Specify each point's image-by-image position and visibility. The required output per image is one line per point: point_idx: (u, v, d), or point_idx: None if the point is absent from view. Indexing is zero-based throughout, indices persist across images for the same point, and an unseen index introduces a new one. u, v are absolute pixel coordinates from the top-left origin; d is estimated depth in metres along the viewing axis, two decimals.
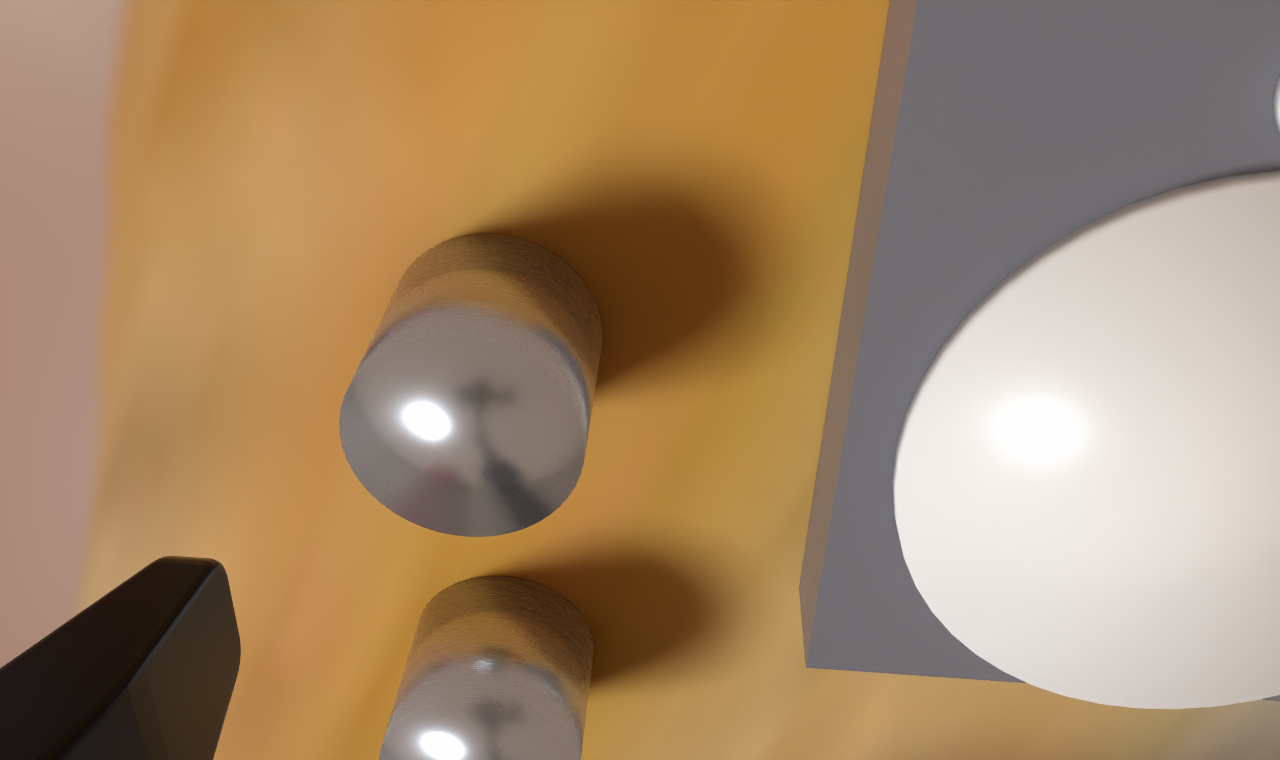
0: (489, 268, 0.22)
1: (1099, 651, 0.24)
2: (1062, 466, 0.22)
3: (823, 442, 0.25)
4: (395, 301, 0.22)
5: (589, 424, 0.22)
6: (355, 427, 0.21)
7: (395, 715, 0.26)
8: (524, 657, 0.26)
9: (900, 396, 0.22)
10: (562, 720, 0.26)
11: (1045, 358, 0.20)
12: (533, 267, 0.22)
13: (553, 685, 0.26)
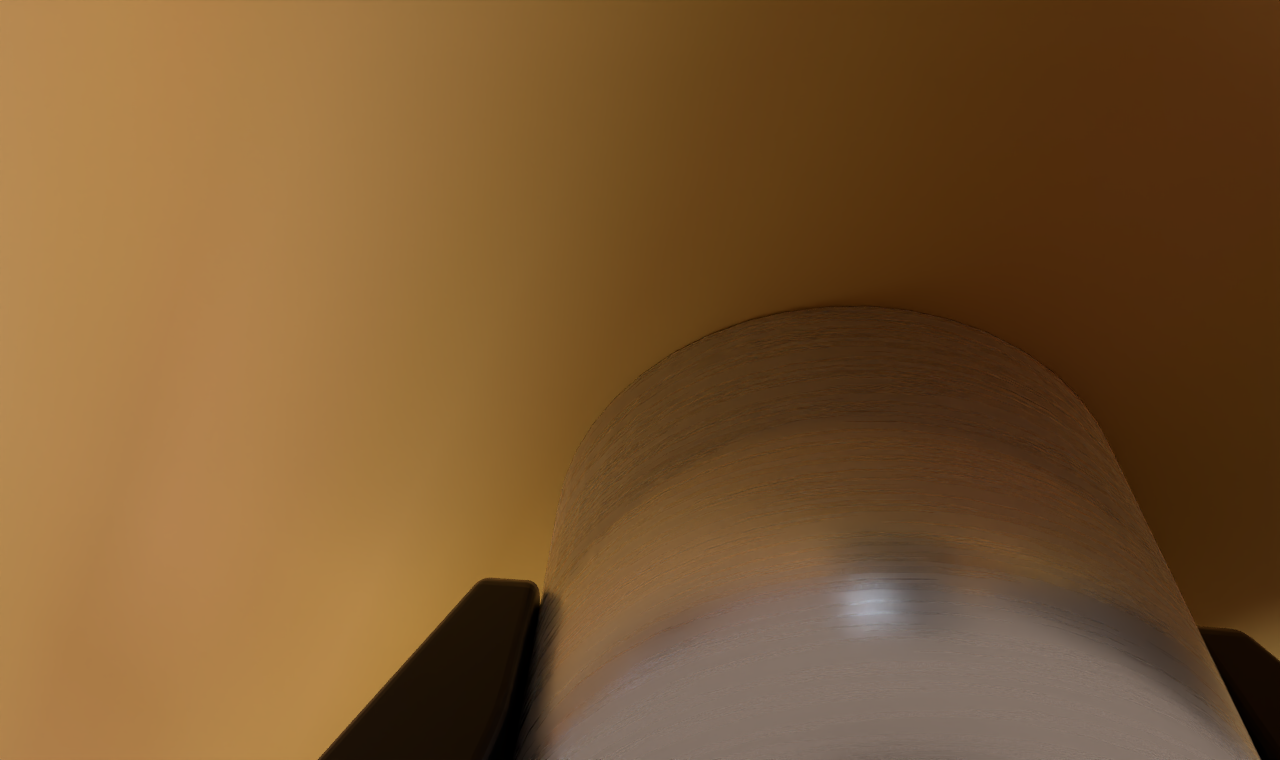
0: None
1: None
2: None
3: None
4: None
5: None
6: None
7: None
8: (1078, 569, 0.06)
9: None
10: None
11: None
12: None
13: (1210, 688, 0.06)
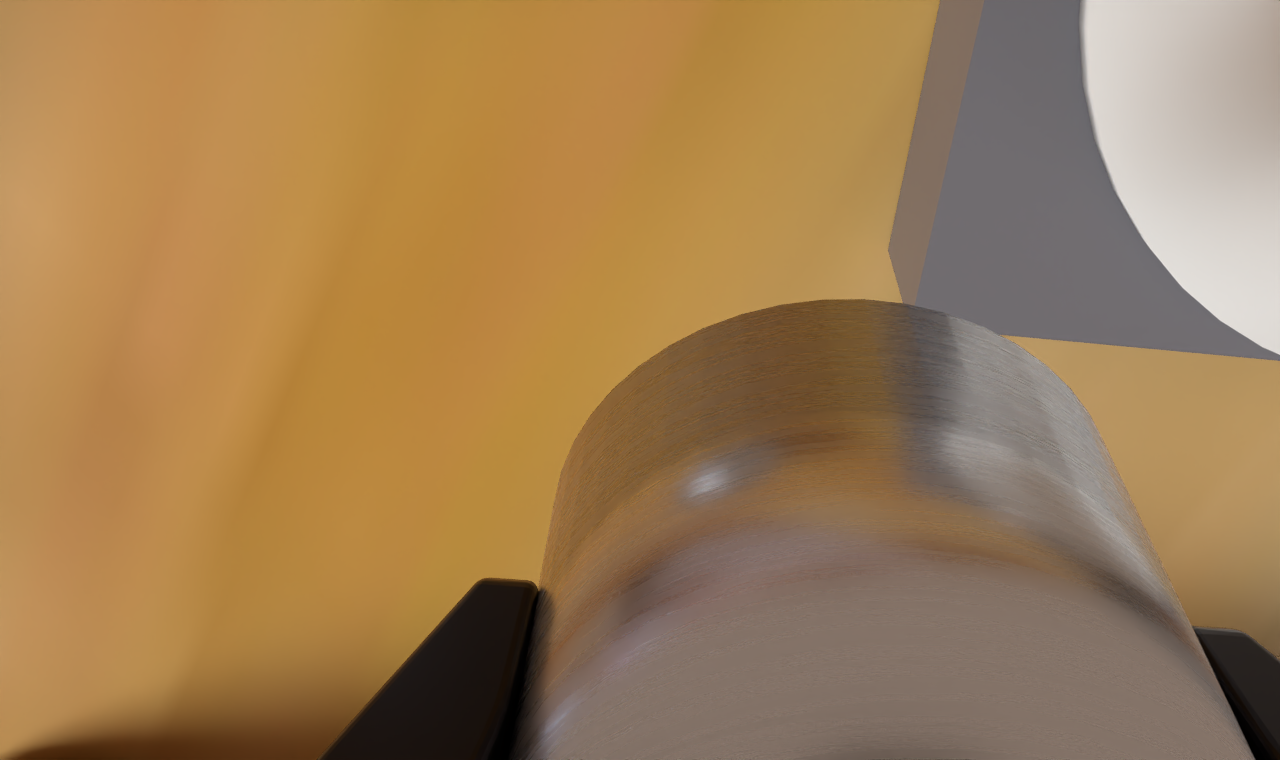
0: None
1: None
2: None
3: None
4: None
5: None
6: None
7: None
8: (1069, 557, 0.06)
9: None
10: None
11: None
12: None
13: (1199, 675, 0.06)
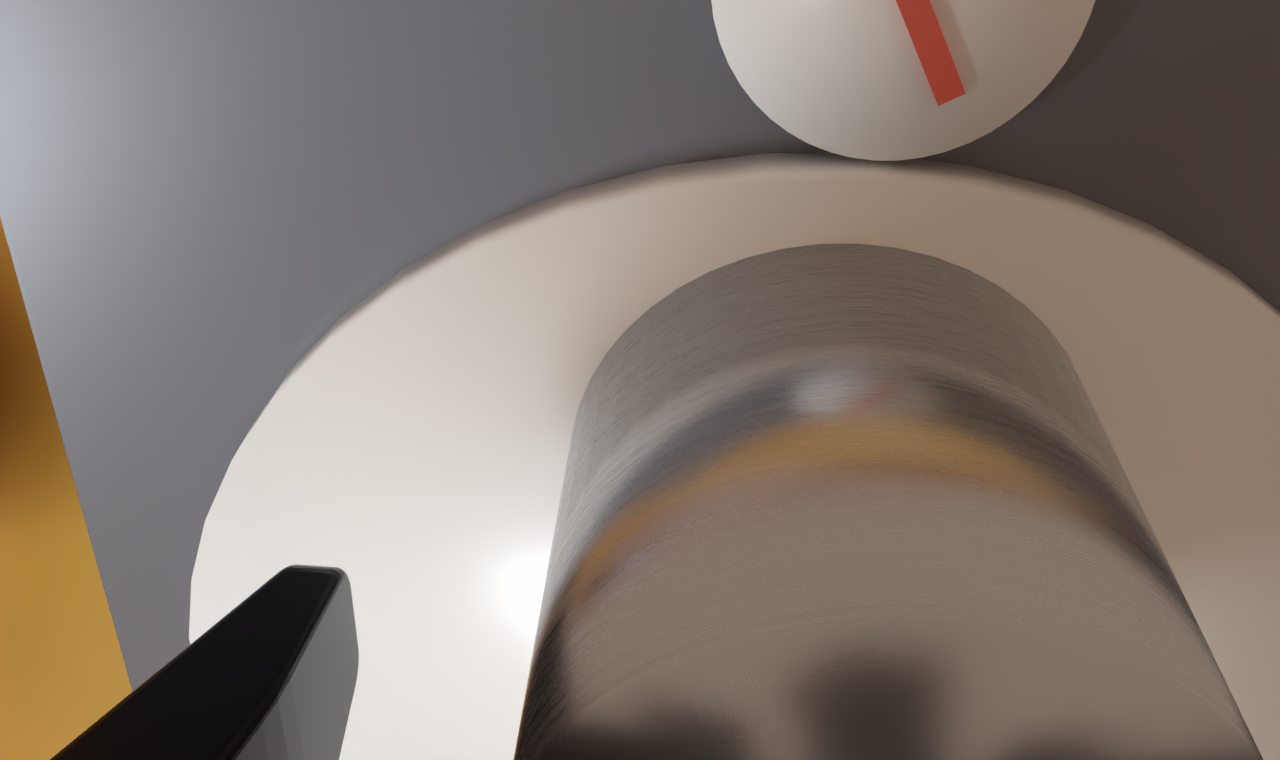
0: None
1: None
2: (485, 701, 0.12)
3: None
4: None
5: None
6: None
7: (562, 680, 0.06)
8: (1040, 458, 0.07)
9: (186, 573, 0.12)
10: (1229, 692, 0.06)
11: (386, 520, 0.11)
12: None
13: (1155, 563, 0.07)
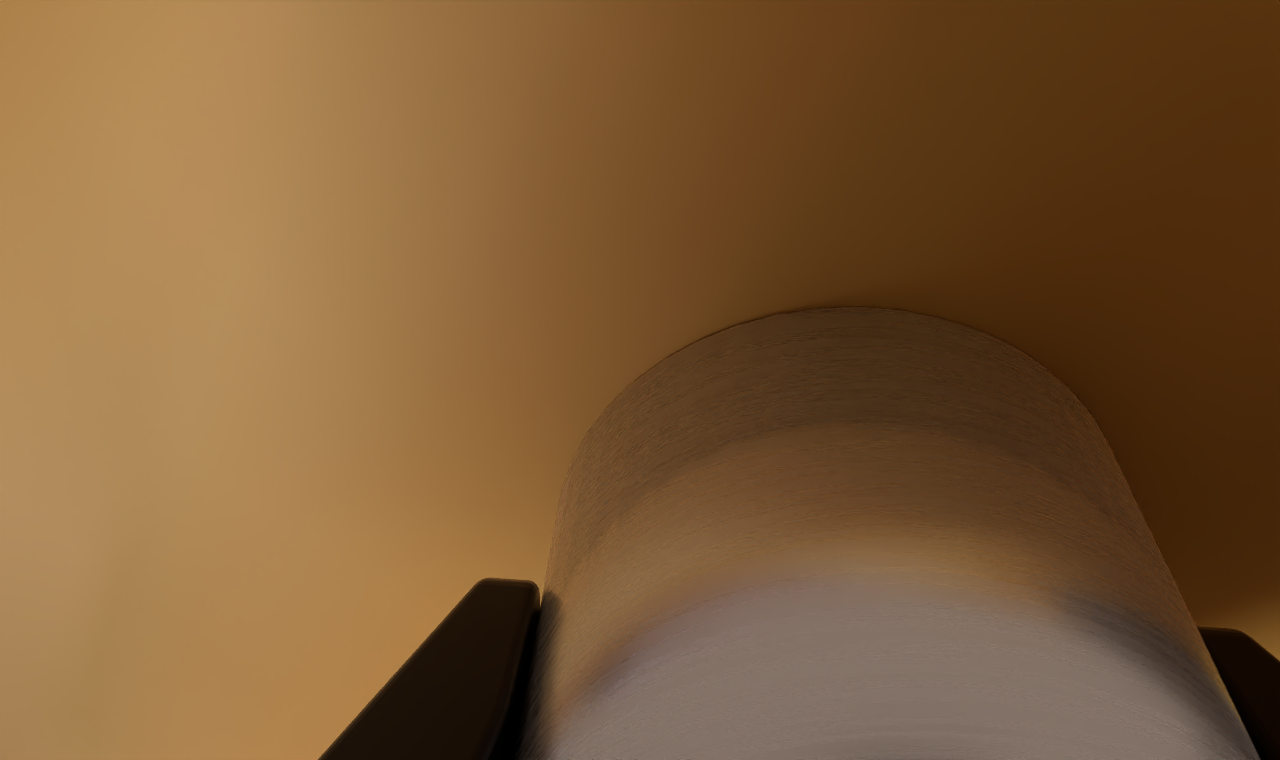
0: (1117, 510, 0.07)
1: None
2: None
3: None
4: (821, 457, 0.07)
5: None
6: None
7: None
8: None
9: None
10: None
11: None
12: (1152, 536, 0.08)
13: None
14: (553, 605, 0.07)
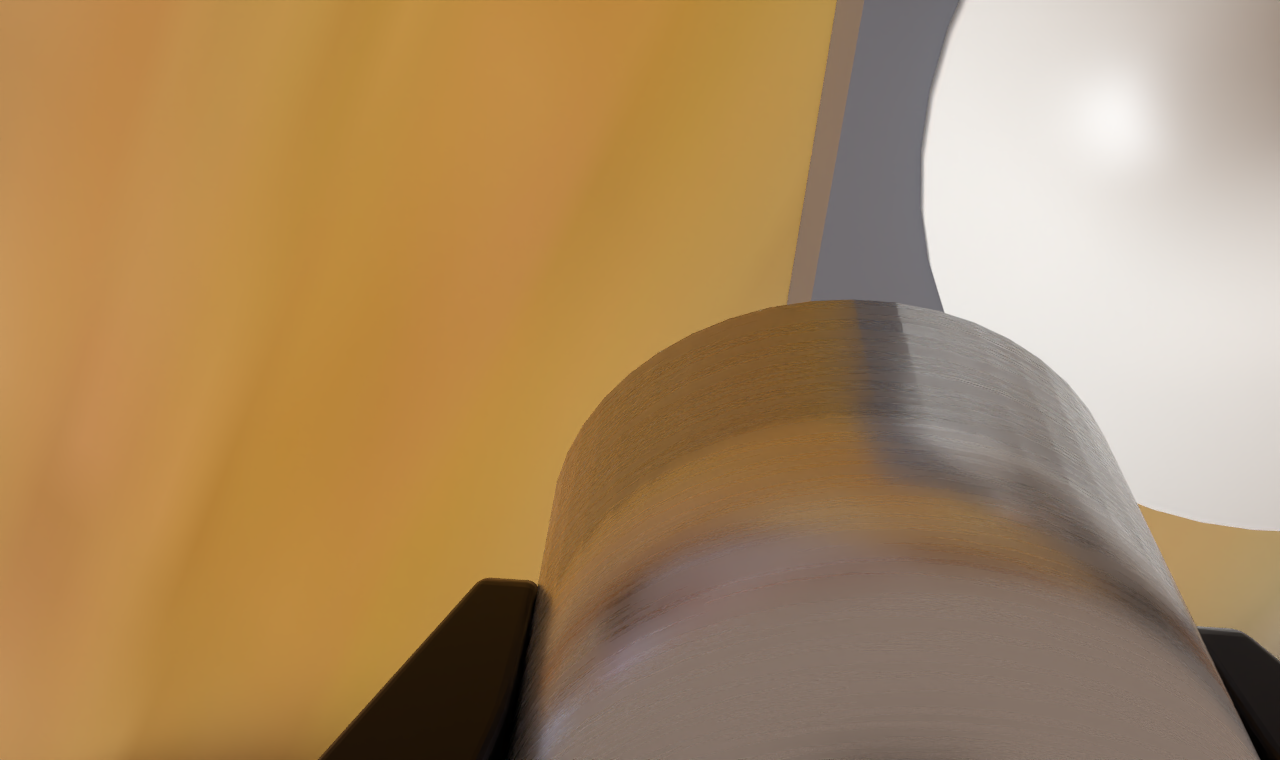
0: (1113, 502, 0.07)
1: (1208, 437, 0.17)
2: (1186, 113, 0.14)
3: (816, 136, 0.17)
4: (815, 449, 0.07)
5: None
6: None
7: None
8: None
9: None
10: None
11: None
12: (1148, 529, 0.08)
13: None
14: (547, 598, 0.07)
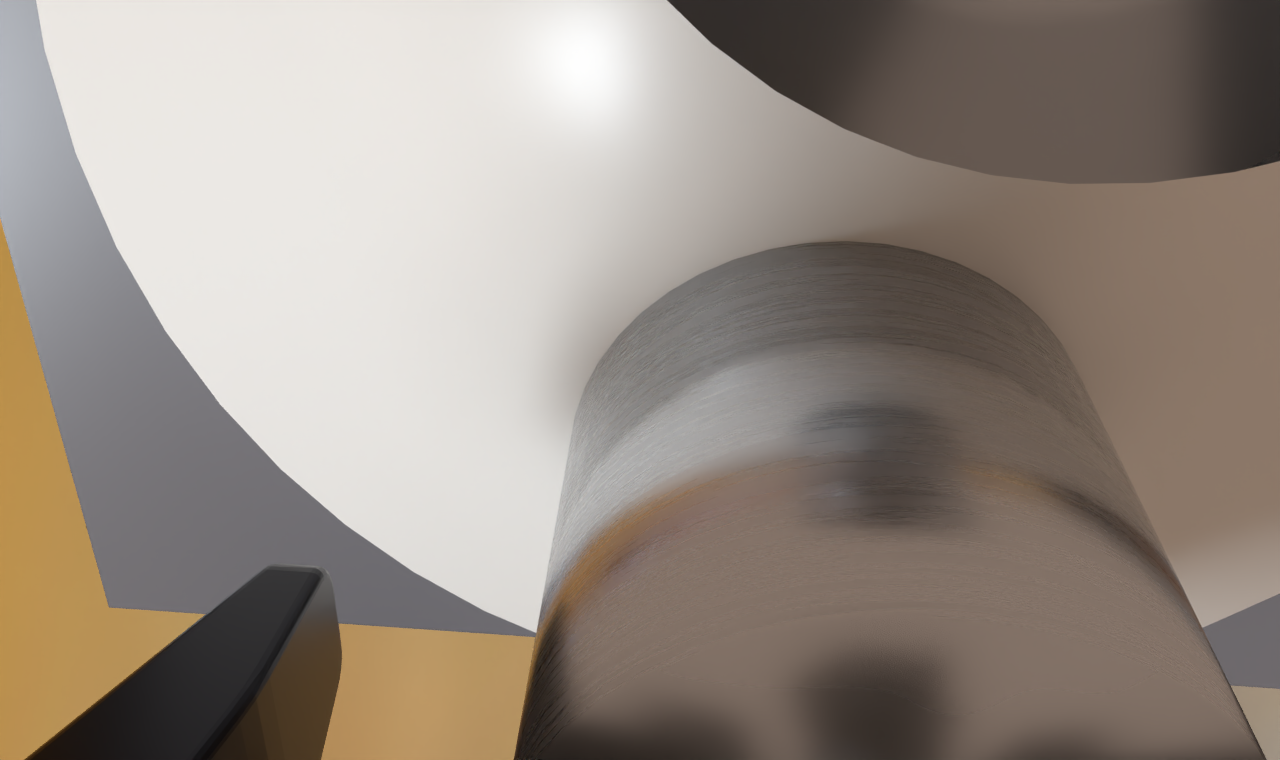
0: (1078, 415, 0.08)
1: None
2: (456, 50, 0.08)
3: None
4: (811, 364, 0.07)
5: None
6: (630, 739, 0.06)
7: None
8: None
9: None
10: None
11: None
12: (1113, 446, 0.09)
13: None
14: (570, 506, 0.08)
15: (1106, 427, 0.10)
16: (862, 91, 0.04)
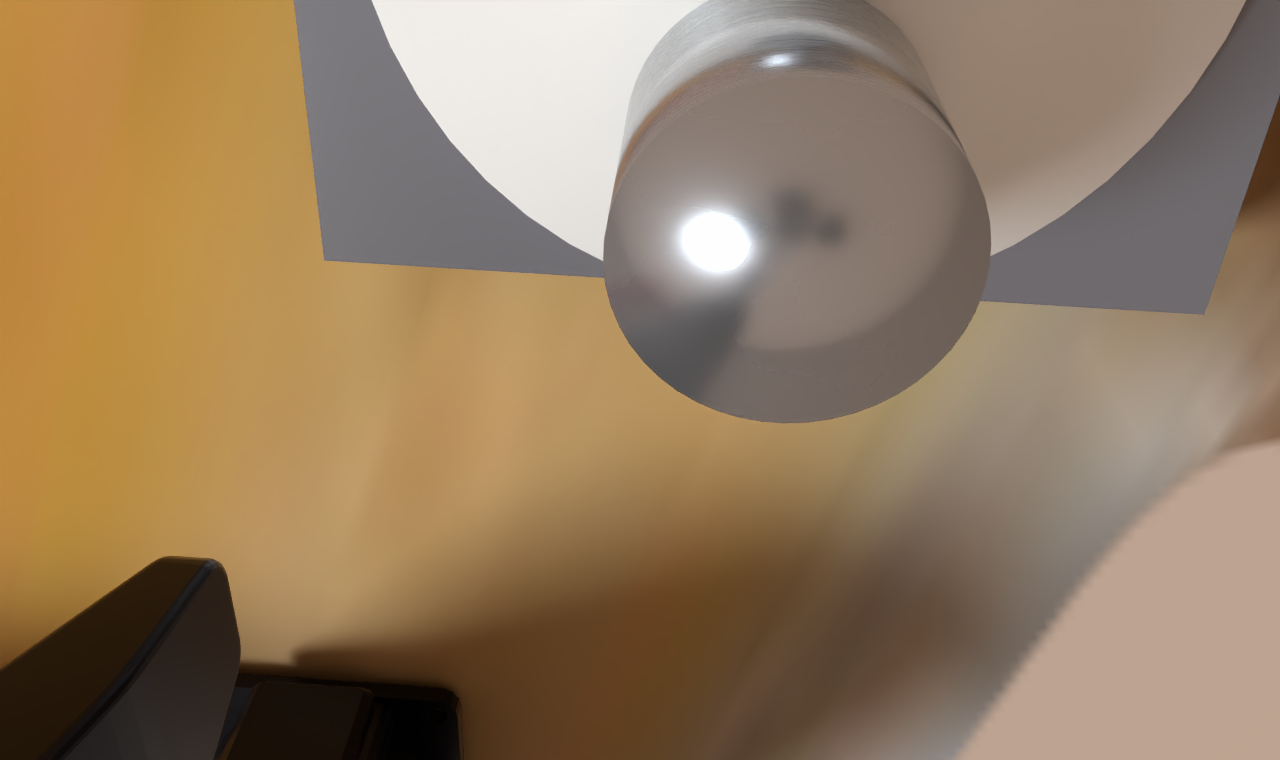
0: (907, 55, 0.15)
1: None
2: None
3: None
4: (762, 18, 0.14)
5: None
6: (670, 158, 0.13)
7: None
8: None
9: None
10: None
11: None
12: None
13: None
14: (633, 113, 0.15)
15: (942, 101, 0.16)
16: None
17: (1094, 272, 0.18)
